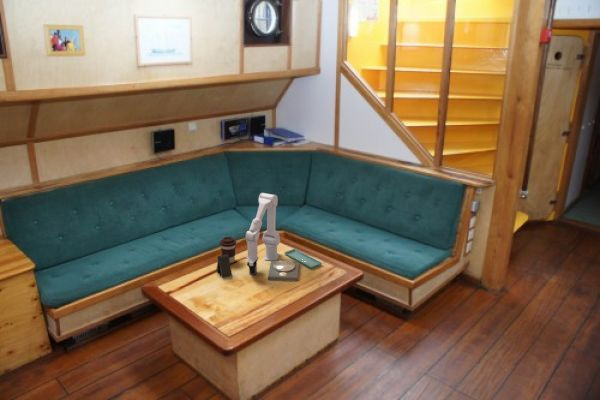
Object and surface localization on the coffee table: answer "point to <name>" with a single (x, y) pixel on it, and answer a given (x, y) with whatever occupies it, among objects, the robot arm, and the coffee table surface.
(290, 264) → the scale pan
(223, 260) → the phone stand
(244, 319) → the coffee table surface
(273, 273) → the scale base
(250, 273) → the cylinder
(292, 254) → the rectangular tray
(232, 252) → the coffee cup
